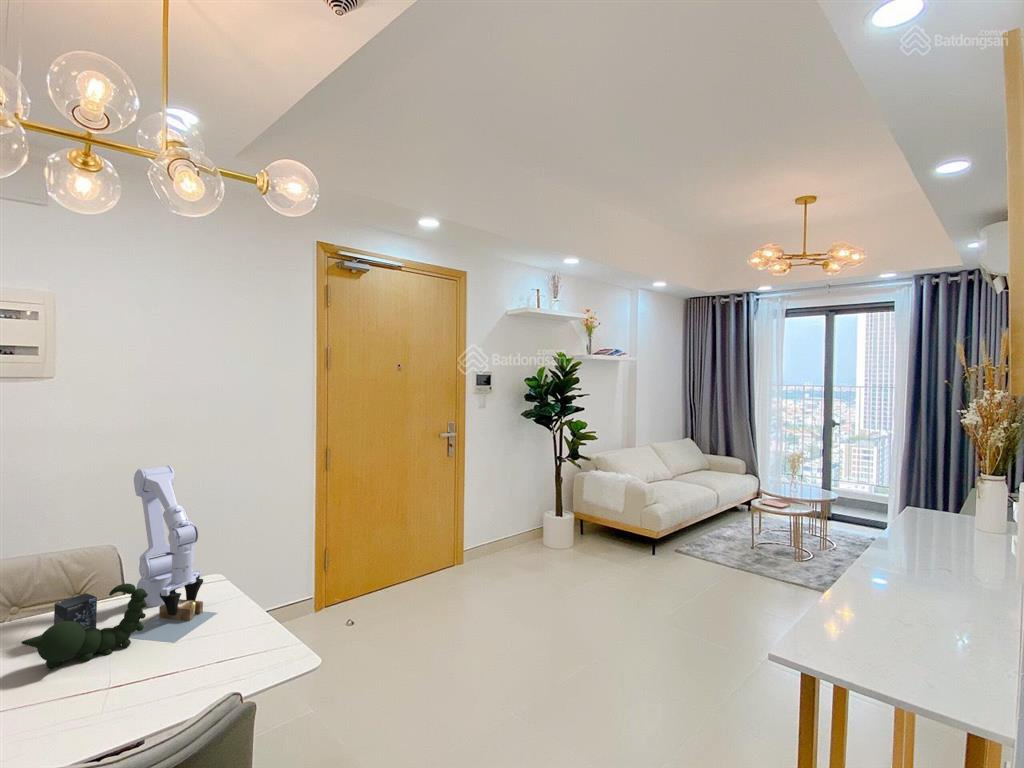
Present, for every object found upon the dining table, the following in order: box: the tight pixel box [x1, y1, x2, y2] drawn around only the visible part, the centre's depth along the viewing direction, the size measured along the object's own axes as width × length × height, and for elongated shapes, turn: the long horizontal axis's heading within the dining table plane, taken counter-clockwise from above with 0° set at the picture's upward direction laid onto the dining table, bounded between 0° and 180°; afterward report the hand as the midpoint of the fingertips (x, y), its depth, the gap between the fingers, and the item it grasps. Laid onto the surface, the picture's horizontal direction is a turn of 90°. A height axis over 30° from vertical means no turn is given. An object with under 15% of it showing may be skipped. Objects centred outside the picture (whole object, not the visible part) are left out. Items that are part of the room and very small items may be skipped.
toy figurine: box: [21, 583, 148, 671], centre depth 136 cm, size 9×19×25 cm
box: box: [53, 592, 98, 629], centre depth 147 cm, size 8×6×11 cm
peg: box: [189, 602, 196, 617], centre depth 159 cm, size 2×2×4 cm
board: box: [129, 610, 218, 644], centre depth 155 cm, size 16×18×1 cm
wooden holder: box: [158, 598, 204, 621], centre depth 160 cm, size 10×6×4 cm, turn 84°
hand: (181, 609), depth 160 cm, fingers open, 7 cm apart
